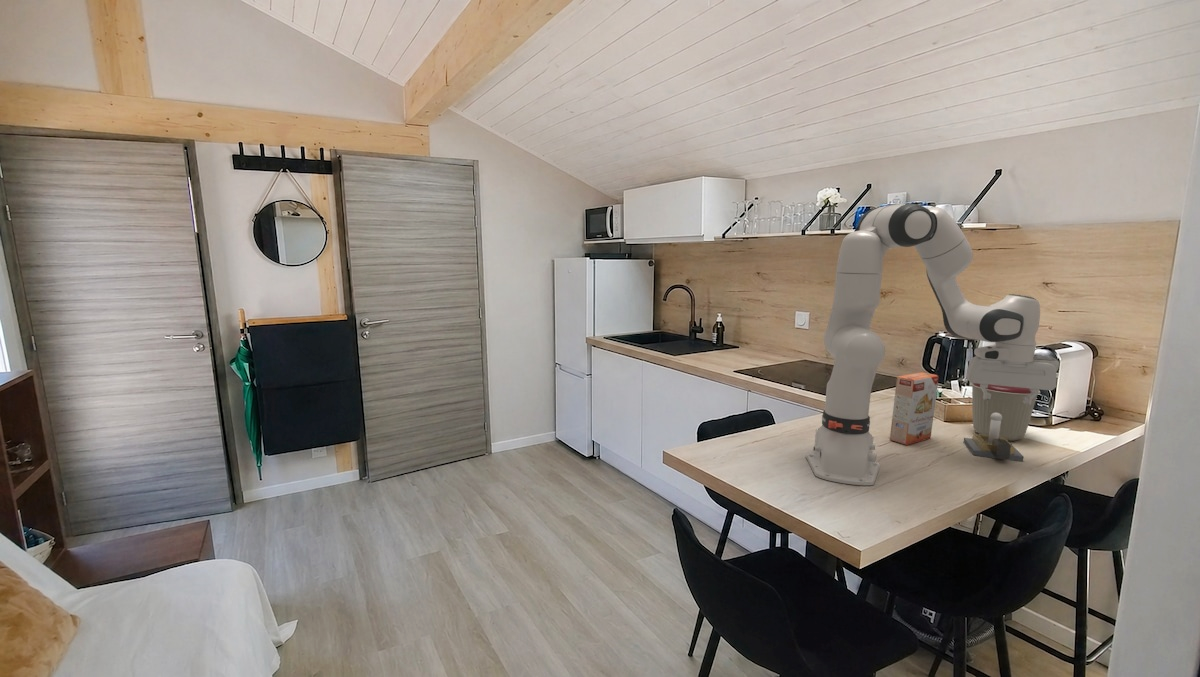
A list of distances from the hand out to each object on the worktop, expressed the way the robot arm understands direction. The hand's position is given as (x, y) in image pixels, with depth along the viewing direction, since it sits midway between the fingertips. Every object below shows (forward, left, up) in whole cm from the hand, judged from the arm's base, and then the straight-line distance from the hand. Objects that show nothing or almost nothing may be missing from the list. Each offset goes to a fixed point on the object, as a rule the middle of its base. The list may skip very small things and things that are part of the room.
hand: (1006, 401), depth 152 cm
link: (+5, 0, -16) cm, 17 cm away
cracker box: (+10, +21, -18) cm, 29 cm away
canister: (+26, -6, -18) cm, 32 cm away
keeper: (+8, 0, -17) cm, 19 cm away
